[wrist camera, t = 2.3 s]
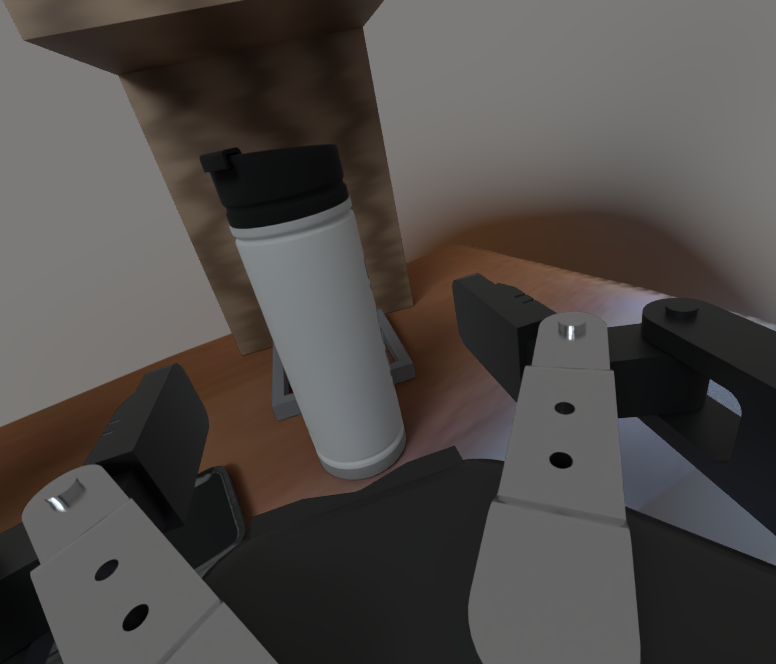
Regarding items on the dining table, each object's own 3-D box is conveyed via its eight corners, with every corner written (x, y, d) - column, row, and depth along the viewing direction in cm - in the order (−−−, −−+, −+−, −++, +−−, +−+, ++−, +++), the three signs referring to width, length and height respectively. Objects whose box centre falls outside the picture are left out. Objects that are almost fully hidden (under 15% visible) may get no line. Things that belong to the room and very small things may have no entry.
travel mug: (298, 467, 28) (167, 162, 18) (355, 408, 32) (274, 137, 23) (370, 500, 24) (253, 143, 15) (422, 428, 29) (359, 118, 19)
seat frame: (277, 420, 33) (271, 406, 32) (277, 351, 43) (273, 339, 43) (416, 377, 34) (413, 362, 34) (383, 320, 45) (381, 308, 44)
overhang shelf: (228, 436, 32) (-4, -12, 19) (243, 347, 46) (114, 49, 32) (459, 363, 35) (401, -79, 21) (408, 299, 48) (353, 4, 35)
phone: (-34, 595, 23) (223, 460, 29) (-21, 605, 24) (229, 471, 29) (-94, 753, 17) (249, 541, 23) (-74, 762, 17) (256, 553, 23)
